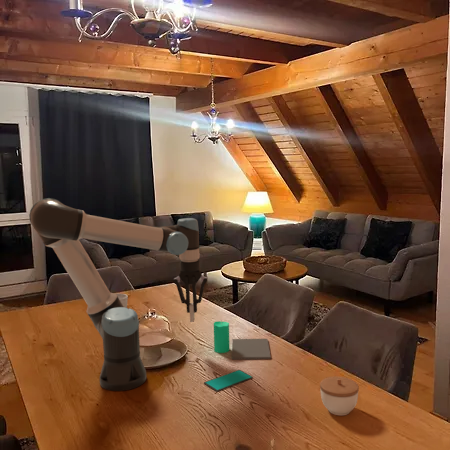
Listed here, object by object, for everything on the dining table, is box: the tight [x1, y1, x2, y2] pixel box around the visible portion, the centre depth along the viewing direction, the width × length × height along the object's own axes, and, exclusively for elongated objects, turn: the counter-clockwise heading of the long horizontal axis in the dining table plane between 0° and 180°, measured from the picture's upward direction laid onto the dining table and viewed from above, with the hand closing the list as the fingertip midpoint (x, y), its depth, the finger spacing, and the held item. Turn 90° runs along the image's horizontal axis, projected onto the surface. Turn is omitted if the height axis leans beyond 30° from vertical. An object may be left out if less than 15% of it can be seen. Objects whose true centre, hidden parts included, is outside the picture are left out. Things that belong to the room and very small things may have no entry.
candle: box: [213, 320, 231, 354], centre depth 182 cm, size 6×6×12 cm
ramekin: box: [115, 292, 129, 308], centre depth 235 cm, size 13×13×7 cm
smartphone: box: [203, 369, 254, 393], centre depth 157 cm, size 7×1×15 cm
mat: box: [231, 338, 272, 360], centre depth 183 cm, size 18×14×1 cm
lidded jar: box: [319, 376, 360, 417], centre depth 137 cm, size 11×11×9 cm
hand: (192, 320), depth 182 cm, fingers closed
